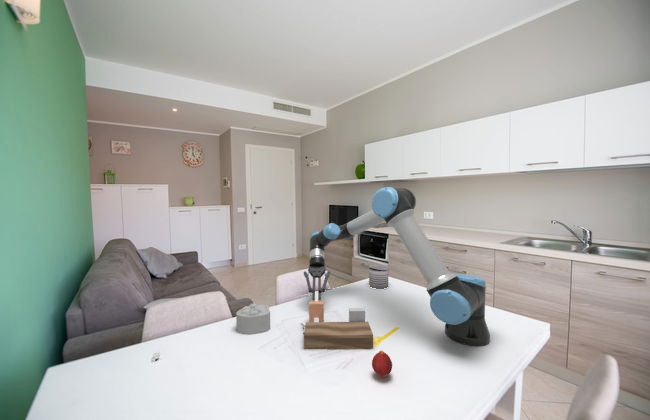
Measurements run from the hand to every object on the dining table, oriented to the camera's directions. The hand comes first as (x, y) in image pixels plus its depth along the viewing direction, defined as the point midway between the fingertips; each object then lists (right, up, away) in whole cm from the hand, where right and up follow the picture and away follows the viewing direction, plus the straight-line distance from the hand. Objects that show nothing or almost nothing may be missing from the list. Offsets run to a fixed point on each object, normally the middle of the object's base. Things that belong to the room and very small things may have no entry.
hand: (316, 306), depth 117 cm
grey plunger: (+16, -5, -17) cm, 24 cm away
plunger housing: (+8, -6, -20) cm, 22 cm away
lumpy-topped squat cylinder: (-25, -6, -9) cm, 27 cm away
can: (+35, -3, +41) cm, 55 cm away
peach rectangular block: (0, -5, -10) cm, 11 cm away
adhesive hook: (-52, -7, -29) cm, 60 cm away
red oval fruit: (+20, -7, -39) cm, 44 cm away
